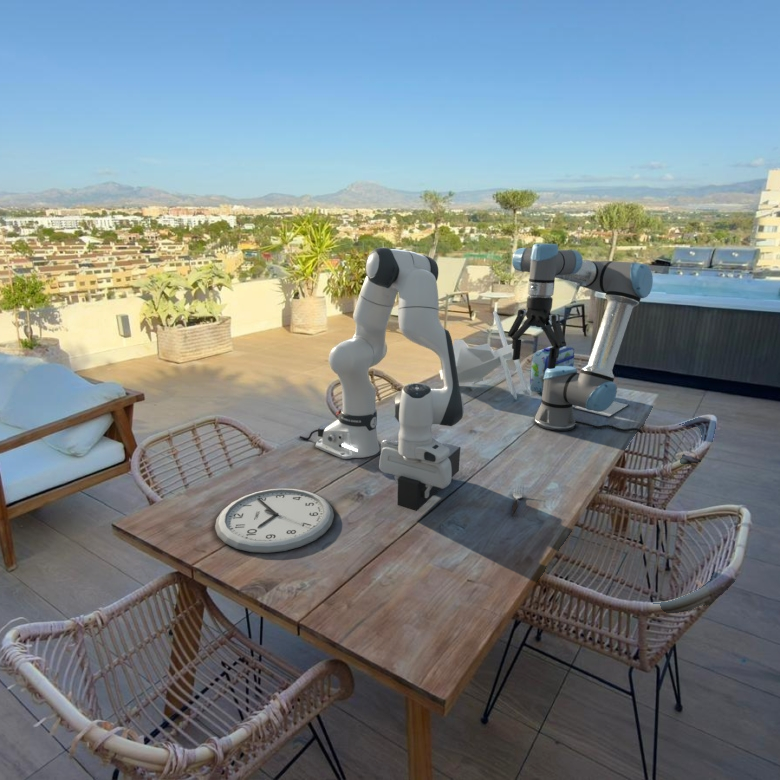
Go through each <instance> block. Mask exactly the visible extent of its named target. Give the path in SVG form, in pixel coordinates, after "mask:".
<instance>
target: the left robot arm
mask: <svg viewBox="0 0 780 780" xmlns="http://www.w3.org/2000/svg"><path fill="white" fill-rule="evenodd" d="M364 269H365V274H366V275H365V279H364V280H363V283H362V285H361V289H360V292H359V295H358V298H357V301H356V305H355V308H354V311H353V314H352V318H353V321H354V322H355V331H354V335H353V336H352V337H351V338H350V339H346V340H344V341H341V342H339V343H338V344H337V345H335V346H334V347H333V348H332V349H331V350H330V351H329V354H328V365H329V367H330V369H331V370H332V372H334V373H335V374H336V375H337V377H338V379H339V382H340V386H341V387H340V388H341V399H342V402H341V403H342V408H341V409H339V410H338V411H336V412H335V413H336V414H335V416H338V418H337V419H336V420H334V421H333V422H331V423H330V424H328V423H324V424H322V425H321V426H320V427H319V428H317V429H314V430H312V431H311V432H310V433H309V435H308V437H304V436H302V435H299V439H301V440H306V441H308V440H310V439H311V438H312V436H313V434H315V433H317V437H318V438H319V437H320V439H319V440H317V441H316V443H315V448H317V449H318V450H321V451H323V452H326V453H328V454H331V455H332V456H335V457H338V458H340V459H342V460H349V459H360V458H361V459H362V458H368V457H369V458H370V457H372V456H375V455H377V454H378V453H379V452H380V457H379V466H378V468H379V470H380V471H381V472H382V473H385V474H389V475H393V476H394V477H393V478H394V481H395V482H396V484H397V485H398V478H399V477H401V476H403V477H407V478H411V479H414V480H418V481H421V483H424V484H426V487H428V488H427V489H424V490H423V491H422V497H424V498H428V497H429V491H430V490H431V488H432V487H433V486H435V487H438V488H440V489H443V490H444V489H446V488H448V486H449V485H450V484H451V482H452V478H453V477H452V469H451V462H450V460H449V458H448V457H447V456H448V455H449V453H450V449H449V448H448V447H446V446H445V445H443V444H442V443H441V442H440V441H438V440H437V439H435V438H434V437H433V435H434V434H433V431H432V426H433V425H439V426H445V427H453V426H455V425H457V424H458V423H459V422H460V421H461V420H462V419H463V418H464V417H463V416H464V412H465V405H464V399H463V396H462V394H461V389H460V383H459V382H458V375H457V368H456V361H455V355H454V349H453V344H454V343H453V339H452V335H451V333H450V331H449V330H448V329H446V328H445V327H444V326H443V325H442V322H441V319H440V313H439V312H440V305H439V303H440V301H439V300H440V299H439V290H438V284H437V281H438V279H439V266H438V262H436V260H435V259H434V258H432V257H430V256H428V255H425V254H420V253H418V252H414V251H411V250H407V249H406V250H402V249H395V248H394V249H393V248H389V247H377V248H373V249H372V250H371V251H370V253H369V254H368V255H367V258H366V260H365V266H364ZM397 295H398V306H397V307H398V308H397V310H398V311H397V319H398V328H399V331H400V332H401V334H402V335H403V336H404V338H406V339H407V340H408V341H410V342H412V343H413V344H416V345H419V346H421V347H424V348H426V349H428V350H430V351H432V352H433V353H435V354H436V355H437V357H438V359H439V361H440V368H441V369H442V374H443V381H444V382H443V381H442V382H443V387H442V388H431V387H430V386H429V385H427V384H425V383H421V382H413V383H412V382H411V383H408V384H406V385H404V386H403V387H402V389H401V390H400V391H398V393H397V394H396V395H395V397H394V418H395V420H396V421H397V422H398V423H399V430H398V441H397V440H393V439H392V440H391V439H390V438H386V439H384V440H381V443H379V439H378V433H377V424H378V411H377V407H376V405H377V403H376V401H377V400H376V399H377V389H376V387H375V385H374V384H373V383H372V381H371V379H370V375H369V370H370V368H372V367H375V366H377V365H378V364H380V363H381V362H382V361H383V360H384V358H386V356H387V354H388V345H387V342H386V333H387V329H388V324H389V320H390V317H391V314H392V311H393V308H394V306H395V302H396V299H397Z"/></svg>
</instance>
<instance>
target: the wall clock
mask: <svg viewBox="0 0 780 780" xmlns="http://www.w3.org/2000/svg"><path fill="white" fill-rule="evenodd" d="M334 518H335V514H334V509H333V507H332V506H331V504H330V503H329V502H328V501H327V499H325V498H323V497H321V496H320V495H318V494H316V493H313V492H311V491H307V490H304V489H296V488H270V489H265V490H260V491H256V492H252V493H250V494H246V495H244V496H242V497H240V498H238V499H236V500H234V501H232V502H231V503H229V504H228V505H227V506H226V507H224V508H223V509H222V510H221V511H220V513H219V515H218V516H217V518H216V520H215V525H214V529H215V532H216V535H217V538H218V539H220V540H221V541H222V542H223V543H224V544H226V545H228V546H230V547H232V548H234V549H236V550H240V551H245V552H248V553H249V552H250V553H261V554H262V553H265V554H270V553H277V552H287V551H290V550H293V549H298V548H301V547H304V546H306V545H308V544H311V543H312V542H314V541H316V540H317V539H319V538H321V537H322V536H323V535H325V534H326V532H327V531H328V530H329V529H330V528H331V526H332V525H333V522H334Z"/></svg>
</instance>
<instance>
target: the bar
mask: <svg viewBox="0 0 780 780" xmlns="http://www.w3.org/2000/svg"><path fill="white" fill-rule="evenodd" d="M441 444H443V445H445V446H446V447H448V448H449V449H450V453H449V455H448V456H447V457H448V458H449V460H450V462H451V469H452V478H453V477H454V476H455V475H456V474H457V473H458V472H459V471H460V459H461V447H460V446H457V445H453V444H448V443H445V442H443V443H441ZM427 488H428V487H426V484H424V483H421V481H418V480H414V479H411V478H407V477H403V476H401V477H399V478H398V484H397V506H399V507H402V508H405V509H409V510H411V511H414V512H417V511H419V510H420V509H421V508H422V506H424V505H425V504H426V503H427V502H428V501H429V500H430V499H431V498H432V497H433V496H434V495H435V494H436V493H437V492H438V491H439V490H441V488H438V487H435V486H433V487H432V488H431V490H430V491H429V497H428V498H424V497H422V491H423V490H424V489H427Z"/></svg>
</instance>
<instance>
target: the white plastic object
mask: <svg viewBox="0 0 780 780" xmlns="http://www.w3.org/2000/svg"><path fill="white" fill-rule="evenodd" d="M492 315H493V319H494V321H495V324H496V325H495V326H496V328H497V332H498V335H499V338H500V342H501V345H502V347H500V348H498V349H496V350H495V349H493V348H492V347H491V346H490V344H489V343H488V342H487V343H483V344H479V345H473V346H469V345H468V343H466V342H465V340H464V339H463V338H460V339H458V338H454V340H453V343H452V344H453V349H454V355H455V361H456V368H457V375H458V382H459V384H467V383H468V384H469V383H473V384H477V383H480V382H482V381H484V378H485V377H486V376H487V375H489V374H490V373H492V372H494V371H495V370H496V369H497V368H499V367H500V366H502V370H503V373H504V376H505V380H506V383H507V386H508V390H509V393H510V394H511V395H512V397H513V398H514V399H515V400H517V392H516V391H517V390H516V388H515V385H514V381H513V378H512V375H511V371H510V369H509V365H508V361H510V360H513V349H512V343H511V344H508V341H507V337H506V334H505V331H504V328H503V325H502V321H501V318H500V315H499V314H498V312H497V311H496V310H495V311H492ZM513 363H514V366H515V369H516V372H517V376H518V380H519V382H520V385H521V389H522V391H523V393H524V395H525V396H526V397H528V396H531V395H530V389H529V388H528V387H529V386H528V384H527V381H526V378H525V375H524V371H523V369H522V368H523V367H522V366H521V362H520V359H518V360H513ZM438 372H439V376H440V381H442V383H444V381H443V374H442V368H441V369H440V370H439V371H438Z"/></svg>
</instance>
